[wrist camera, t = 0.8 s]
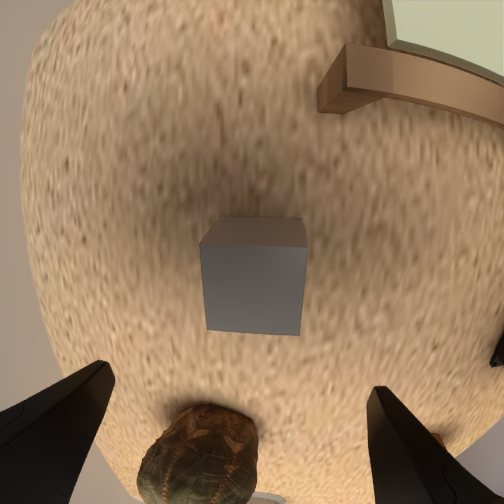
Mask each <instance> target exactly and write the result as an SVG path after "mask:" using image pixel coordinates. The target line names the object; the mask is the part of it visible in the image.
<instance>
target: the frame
mask: <svg viewBox="0 0 504 504" xmlns="http://www.w3.org/2000/svg"><path fill="white" fill-rule="evenodd" d="M383 97H385V98H391V99H397V100H402V101H407V102H412V103H417V104H421V105H426V106H430V107H434V108H438V109H442V110H446V111H449V112H453V113H457V114H460V115H463V116H467V117H470V118H473V119H476V120H479V121H482V122H485V123H488V124H491V125H494V126H497V127H499V128H502V129H504V88H503V87H501V86H499V85H496V84H494V83H492V82H490V81H487V80H485V79H482V78H480V77H478V76H475V75H472V74H470V73H467V72H464V71H462V70H459V69H456V68H453V67H450V66H447V65H444V64H441V63H438V62H434V61H431V60H427V59H424V58H420V57H416V56H412V55H408V54H404V53H400V52H395V51H391V50H386V49H380V48H375V47H369V46H363V45H356V44H349V43H345V45H344V46H343V48H342V50H341V51H340V53H339V54H338V56H337V58H336V59H335V61H334V62H333V64H332V66H331V67H330V69H329V70H328V72H327V74H326V75H325V77H324V79H323V80H322V82H321V83H320V85H319V87H318V112H321V113H334V114H345V113H347V112H349V111H352V110H354V109H356V108H359V107H361V106H364V105H366V104H368V103H371V102H373V101H376V100H378V99H381V98H383Z"/></svg>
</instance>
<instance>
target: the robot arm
mask: <svg viewBox="0 0 504 504" xmlns="http://www.w3.org/2000/svg"><path fill="white" fill-rule="evenodd" d="M501 365H503V366H504V336H503V338H502V340H501V342H500V344H499V346H498V348H497V350H496V352H495V354H494V356H493V358H492V360H491V362H490V366H491V367H497V366H501ZM114 385H115V376H114V374H113V371H112V369H111V366H110V364H109V363H108V362H107V361H103V360H97V361H95V362H93V363H91V364H89V365H88V366H86V367H84V368H82V369H80V370H79V371H77V372H75V373H73V374H71V375H70V376H68V377H66V378H64V379H62V380H60V381H59V382H57V383H55V384H53V385H51V386H50V387H48V388H46V389H44V390H42V391H40V392H39V393H37V394H35V395H33V396H31V397H29V398H27V399H26V400H24V401H22V402H20V403H18V404H16V405H14V406H12V407H10V408H8V409H6V410H3V411H1V412H0V504H69V501H70V498H71V495H72V492H73V490H74V487H75V485H76V482H77V479H78V477H79V474H80V472H81V469H82V467H83V464H84V462H85V459H86V457H87V454H88V452H89V450H90V447H91V445H92V443H93V440H94V438H95V436H96V433H97V431H98V429H99V427H100V424H101V422H102V420H103V417H104V415H105V412H106V409H107V406H108V403H109V400H110V397H111V393H112V391H113V388H114ZM366 409H367V429H368V449H369V457H370V463H371V471H372V478H373V486H374V495H375V504H504V498H503V497H501V496H499V495H496V494H495V493H494V492H492V491H491V490H490V489H489V488H487V487H486V486H485V485H484V484H482V483H481V482H480V481H479V480H478V479H476V478H475V477H474V476H473V475H472V474H470V473H469V472H468V471H467V470H465V468H464V467H463V466H461V464H460V463H459V462H458V461H457V460H456V459H455V458H454V457H453V456H452V455H451V454H450V453H449V452H447V450H446V449H445V448H444V447H443V446H442V445H441V444H440V442H439V441H438V440H437V439H436V438H435V437H434V436H433V435H432V434H431V433H430V432H429V431H428V430H427V429H426V428H425V426H424V425H423V424H422V423H421V422H420V421H419V420H418V419H417V418H416V417H415V416H414V415H413V414H412V413H411V412H410V411H409V409H408V408H407V407H406V406H405V405H404V404H403V403H402V402H401V401H400V400H399V399H398V398H397V397H396V396H395V395H394V394H393V393H392V391H391V390H390V389H389V388H388V387H387V386H375V387H374V388H373V389H372V391H371V394H370V396H369V399H368V401H367V407H366Z"/></svg>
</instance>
